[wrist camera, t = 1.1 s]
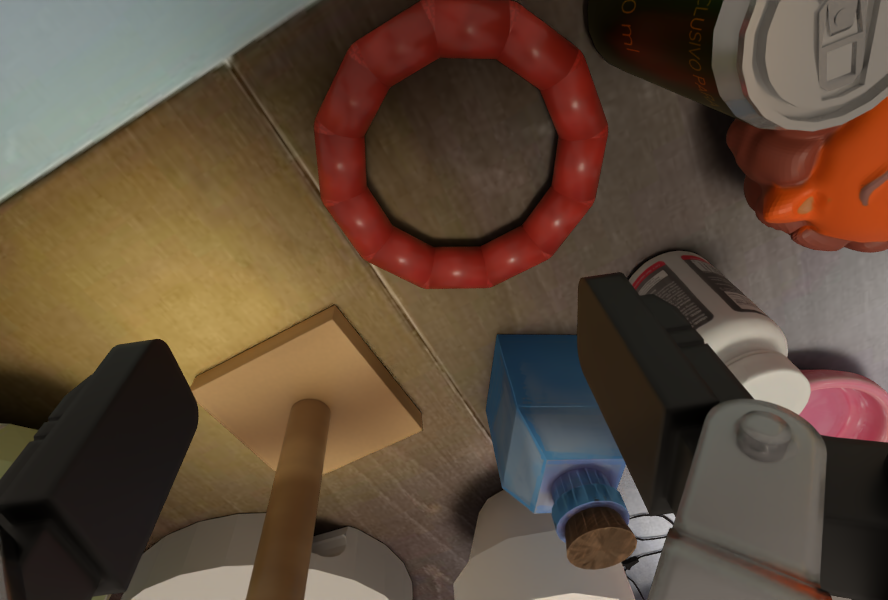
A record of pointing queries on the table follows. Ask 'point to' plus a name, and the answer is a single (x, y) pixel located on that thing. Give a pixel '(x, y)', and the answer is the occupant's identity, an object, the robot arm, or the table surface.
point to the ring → (410, 49)
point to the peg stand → (304, 429)
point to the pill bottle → (727, 325)
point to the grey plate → (233, 555)
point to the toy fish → (819, 180)
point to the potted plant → (529, 560)
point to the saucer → (846, 405)
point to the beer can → (754, 55)
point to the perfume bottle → (558, 446)
